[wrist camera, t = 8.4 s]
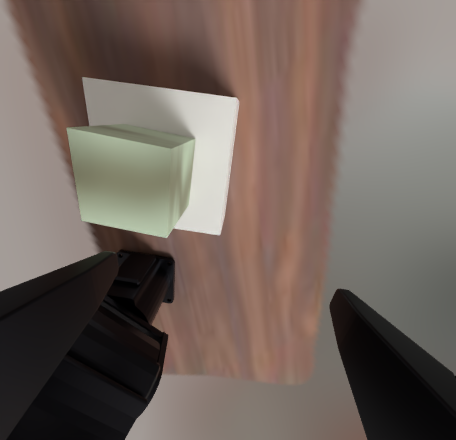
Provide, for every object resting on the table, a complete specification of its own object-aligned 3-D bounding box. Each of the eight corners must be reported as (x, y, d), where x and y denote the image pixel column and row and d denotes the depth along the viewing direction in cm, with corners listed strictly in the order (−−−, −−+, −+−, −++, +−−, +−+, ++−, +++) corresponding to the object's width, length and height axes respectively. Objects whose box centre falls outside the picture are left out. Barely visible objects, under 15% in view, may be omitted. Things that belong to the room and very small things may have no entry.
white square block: (224, 215, 21) (219, 235, 17) (128, 201, 21) (103, 217, 18) (239, 102, 17) (236, 97, 13) (117, 86, 17) (81, 77, 13)
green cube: (188, 205, 16) (166, 238, 12) (126, 192, 16) (81, 220, 12) (195, 138, 14) (171, 148, 10) (123, 123, 14) (66, 127, 10)
